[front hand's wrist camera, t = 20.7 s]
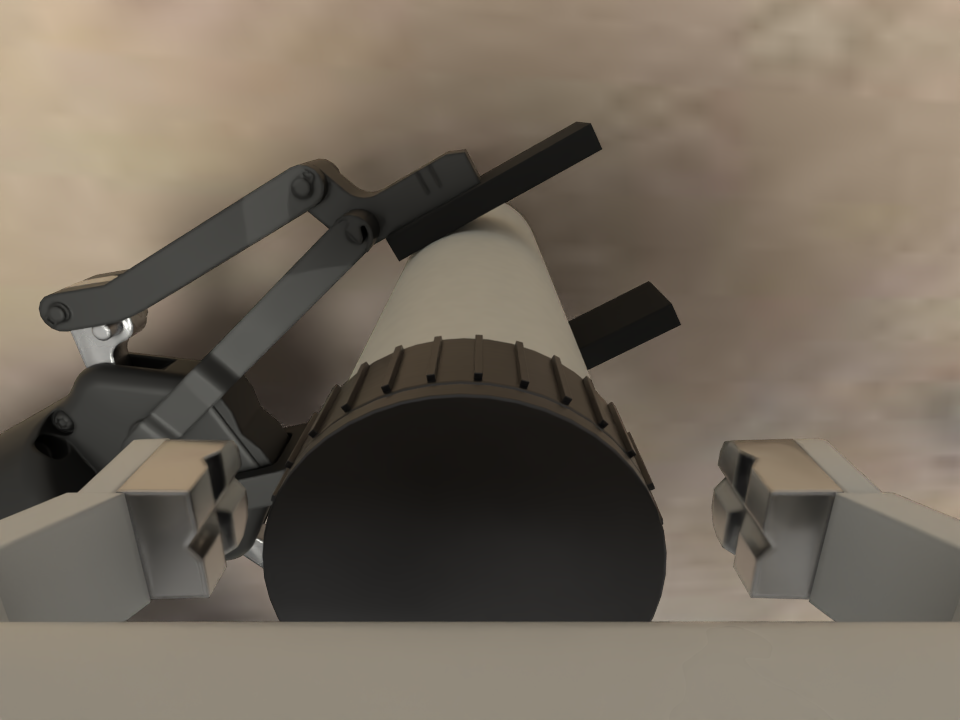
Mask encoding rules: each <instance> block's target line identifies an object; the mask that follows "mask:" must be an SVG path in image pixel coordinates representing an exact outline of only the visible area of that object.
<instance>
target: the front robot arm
mask: <svg viewBox="0 0 960 720" xmlns="http://www.w3.org/2000/svg"><path fill="white" fill-rule="evenodd" d="M241 466H242V462H241V457H240V452H239V447H238V446H237V444H236V443H235V442H234V441H233V440H193V439H171V440H170V439H168V438H164V439H139V440H133V441H132V442H131V443H130V444H129V445H128V446H127V447H126V448H125V449H124V450H123V451H121V452H120V453H119V454H118V455H117V456H116V457H115V458H114V459H113V460H112V461H111V462H110V463H109V464H108V465H106V466H105V467H104V468H103V469H102V470H101V471H100V472H99V473H98V474H97V475H96V476H95V477H94V478H93V479H92V480H90V481H89V482H88V483H87V484H86V485H85V486H84V487H83V488H82V489H81V490H80V491H79V492H78V493H65V494H63V495H60V496H58V497H55V498H53V499H50V500H48V501H46V502H43V503H41V504H38V505H36V506H33V507H31V508H28V509H26V510H23V511H21V512H19V513H16V514H14V515H11V516H9V517H6V518H4V519H1V520H0V720H960V520H958V519H956V518H954V517H951V516H949V515H946V514H944V513H941V512H939V511H936V510H934V509H932V508H929V507H927V506H924V505H922V504H919V503H917V502H914V501H912V500H910V499H907V498H905V497H902V496H900V495H897V494H895V493H882V492H881V491H880V490H879V489H878V488H877V487H876V486H875V485H874V484H873V483H872V482H871V481H870V480H869V479H867V478H866V477H865V476H864V475H863V474H862V473H861V472H860V471H859V470H858V469H857V468H856V467H855V466H854V465H853V464H852V463H850V462H849V461H848V460H847V459H846V458H845V457H844V456H843V455H842V454H841V453H840V452H839V451H838V450H837V449H836V448H834V447H833V446H832V445H831V444H830V443H829V442H828V441H826V440H823V439H820V438H814V439H770V440H731V441H726V442H724V444H723V446H722V448H721V451H720V456H719V461H718V466H719V468H720V469H721V471H722V472H723V474H724V475H725V478H724V479H723V480H722V481H721V482H720V483H719V484H718V485H717V486H716V487H715V488H714V492H713V500H712V517H713V526H714V529H715V532H716V535H717V538H718V540H719V541H720V543H721V545H722V547H723V548H725V549H726V550H728V551H729V552H731V553H733V554H734V555H735V560H734V566H733V567H734V569H735V571H736V572H737V574H738V576H739V578H740V579H741V581H742V583H743V585H744V586H745V588H746V590H747V592H748V593H749V595H750V597H751V598H782V599H810V600H809V602H810V603H811V604H813V605H814V606H815V607H817V608H818V609H819V610H821V611H822V612H823V613H825V614H826V615H827V616H829V617H830V618H831V619H833V620H834V621H835V622H125V621H126V620H128V619H129V618H130V617H132V616H133V615H134V614H136V613H137V612H138V611H140V610H141V609H142V608H144V607H145V606H146V605H148V604H149V603H150V602H151V600H150V599H177V598H209V597H210V595H211V594H212V592H213V590H214V588H215V587H216V585H217V583H218V581H219V579H220V578H221V576H222V574H223V572H224V571H225V569H226V567H227V566H226V560H225V555H226V554H227V553H229V552H231V551H232V550H234V549H235V548H237V547H238V545H239V543H240V541H241V540H242V538H243V536H244V533H245V528H246V524H247V519H248V499H247V492H246V488H245V487H244V486H243V485H242V484H241V483H240V482H239V481H238V480H237V479H236V478H235V475H236V474H237V472H238V471H239V469H240V468H241Z"/></svg>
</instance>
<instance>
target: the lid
mask: <svg viewBox="0 0 960 720" xmlns="http://www.w3.org/2000/svg"><path fill="white" fill-rule="evenodd" d="M285 467H287V469H286V471H285V473H284V474H283V476H282V478H281V480H280V482H279V484H278V485H277V487H276V489H275V491H274V493H273V494H272V498H271V501H273V504H272V506H271V508H270V511H269V514H268V518H267V522H266V526H265V531H264V537H263V551H262V559H263V569H264V579H265V582H266V586H267V590H268V594H269V598H270V601H271V603H272V605H273V608H274V610H275V612H276V615H277V617H278V619H279V621H280V622H651V620H652V618H653V617H654V614H655V612H656V609H657V606H658V603H659V601H660V598H661V595H662V590H663V585H664V580H665V575H666V554H667V552H666V544H665V536H664V530H663V526H662V525H663V518H662V516H661V514H660V511H659V509H658V507H657V505H656V502H655V500H654V498H653V495H652V493H651V491H650V490H653V489H655V487H654V485H653V482H652V480H651V478H650V476H649V474H648V471H647V469H646V467H645V465H644V462H643V460H642V458H641V456H640V454H639V451H638V449H637V447H636V445H635V443H634V440H633V438H632V436H631V434H630V432H628V433H627V432H626V429H625V427H624V425H623V422H622V420H621V418H620V416H619V413H618V411H617V409H616V407H615V405H614V404H613V403H612V402H611V403H609V404H607V403H606V401H605V400H604V399H603V398H602V397H601V396H600V395H599V394H598V393H597V392H596V391H595V388H594V386H593V383H592V381H591V379H590V378H589V377H588V376H585V377H584V378H583V379H582V378H581V377H580V376H579V375H577V374H576V373H575V372H574V371H572V370H570V369H569V368H567V367H566V366H564V365H562V363H561V360H560V358H559V357H557V356H556V355H553V357H552V358H550V357H547V356H545V355H543V354H541V353H539V352H536V351H534V350H531V349H528V348H524V346H523V342H520V341H516V343H515V344H511V343H506V342H500V341H494V340H489V339H483V335H475V339H471V338H459V339H445V340H442V336H436V337H434V341H432V342H427V343H422V344H417V345H414V346H411V347H408V348H405V349H404V348H403V346H402V345H400V346H397V347H395V350H394V352H393V353H391V354H389V355H387V356H385V357H383V358H381V359H379V360H377V361H375V362H373V363H372V364H370V365H369V364H368V363H367V362H364V363H363V364H361V366H360V368H359V370H358V372H357V374H355V375H354V376H353V377H352V378H351V379H349V380H348V381H347V382H346V383H345V384H344V385H343V386H342V387H339V386H338V385H335V387H334V388H333V389H332V390H331V392H330V394H329V396H328V398H327V400H326V402H325V403H324V405H323V407H322V409H321V411H320V413H319V414H317V413H315V412H314V414H313V415H312V417H311V419H310V421H309V423H308V424H307V426H306V428H305V430H304V431H303V433H302V435H301V437H300V439H299V440H298V442H297V444H296V446H295V448H294V449H293V451H292V453H291V455H290V457H289V458H288V460H287V462H286V464H285Z"/></svg>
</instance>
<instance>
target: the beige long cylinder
mask: <svg viewBox="0 0 960 720" xmlns="http://www.w3.org/2000/svg"><path fill="white" fill-rule="evenodd" d="M475 335H483V339H489V340H494V341H500V342H506V343H511V344H515V343H516V341H520V342H523V346H524V348H528V349H531V350H534V351H536V352H539V353H541V354H543V355H545V356H547V357H550V358H552V357H553V355H556V356H557V357H559V358H560V360H561V363H562V365H564V366H566V367H567V368H569V369H570V370H572V371H574V372H575V373H576V374H577V375H579V376H580V377H581V378H582V379H583V378H584V377H585V376H588V377H589V378H590V375H589V373H588V370H587V368H586V365H585V363H584V360H583V358H582V355H581V353H580V350H579V348H578V345H577V343H576V340H575V338H574V335H573V333H572V330H571V328H570V325H569V323H568V320H567V318H566V315H565V313H564V310H563V308H562V305H561V303H560V300H559V298H558V295H557V293H556V290H555V287H554V285H553V282H552V280H551V277H550V275H549V272H548V270H547V267H546V265H545V262H544V260H543V257H542V255H541V252H540V250H539V247H538V245H537V242H536V240H535V237H534V235H533V233H532V230H531V228H530V226H529V225H528V223H527V222H526V220H525V219H524V218H523V217H522V216H521V214H519V213H518V212H517V211H516V210H515V209H514V208H512V207H511V206H509V205H508V204H506V203H504V204H502V205H500V206H498V207H497V208H495V209H493V210H491V211H489V212H488V213H486V214H484V215H482V216H480V217H478V218H477V219H475V220H473V221H471V222H469V223H468V224H466V225H464V226H462V227H460V228H459V229H457V230H455V231H453V232H451V233H450V234H448V235H446V236H444V237H442V238H440V239H439V240H437V241H435V242H433V243H431V244H430V245H428V246H426V247H424V248H422V249H421V250H419V251H417V252H415V253H413V254H411V256H410V258H409V260H408V262H407V264H406V266H405V268H404V270H403V272H402V274H401V276H400V278H399V280H398V282H397V284H396V286H395V288H394V290H393V292H392V294H391V296H390V298H389V300H388V302H387V304H386V306H385V308H384V310H383V312H382V314H381V316H380V318H379V320H378V322H377V324H376V326H375V328H374V330H373V332H372V334H371V336H370V338H369V340H368V342H367V344H366V346H365V348H364V350H363V352H362V354H361V356H360V358H359V360H358V362H357V364H356V366H355V368H354V370H353V372H352V374H351V376H350V378H349V379H351V378H352V377H353V376H354V375H355V374H357V372H358V370H359V368H360V366H361V364H363V363H364V362H367V363H368V364H369V365H370V364H372V363H373V362H375V361H377V360H379V359H381V358H383V357H385V356H387V355H389V354H391V353H393V352H394V350H395V347H397V346H400V345H402V346H403V348H404V349H405V348H408V347H411V346H414V345H417V344H422V343H427V342H432V341H434V337H436V336H442V340H445V339H459V338H471V339H475ZM590 379H591V378H590ZM591 381H592V380H591Z"/></svg>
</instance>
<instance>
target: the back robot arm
mask: <svg viewBox="0 0 960 720" xmlns="http://www.w3.org/2000/svg"><path fill="white" fill-rule="evenodd" d="M600 150H602V147H601V145H600V143H599V141H598V139H597V136H596V134H595V132H594V130H593V127H592V125H591V123H582V122H575V123H574V124H572V125H570V126H568V127H567V128H565V129H563V130H561V131H559V132H558V133H556V134H554V135H552V136H551V137H549V138H547V139H545V140H544V141H542V142H540V143H538V144H536V145H535V146H533V147H531V148H529V149H528V150H526V151H524V152H522V153H521V154H519V155H517V156H515V157H513V158H512V159H510V160H508V161H506V162H505V163H503V164H501V165H499V166H498V167H496V168H494V169H492V170H490V171H489V172H487V173H485V174H483V175H482V176H480V175H479V173H478V171H477V169H476V168H475V166H474V164H473V162H472V160H471V158H470V156H469V154H468V152H467V150H466V149H464V150H456V151H448V152H447V153H445V154H443V155H442V156H440V157H438V158H436V159H435V160H433V161H431V162H429V163H428V164H426V165H424V166H423V167H421V168H419V169H417V170H416V171H414V172H412V173H410V174H409V175H407V176H405V177H404V178H402V179H400V180H398V181H397V182H395V183H393V184H391V185H390V186H388V187H386V188H385V189H382V190H380V191H377V192H367V191H363V190H361V189H359V188H357V187H356V186H354V185H353V184H352V183H351V182H350V181H349V180H347V179H346V178H345V177H344V176H343V175H342V174H340V172H339V169H338V168H337V167H336V166H335V165H334V164H333V163H332V162H330V161H328V160H326V159H317V160H313V161H310V162H306V163H303V164H300V165H296V166H294V167H291V168H289V169H287V170H286V171H284V172H283V173H281V174H280V175H278V176H276V177H275V178H273V179H272V180H270V181H268V182H267V183H265V184H264V185H262V186H260V187H259V188H257V189H256V190H254V191H253V192H251V193H249V194H248V195H246V196H245V197H243V198H241V199H240V200H238V201H237V202H235V203H234V204H232V205H230V206H229V207H227V208H226V209H224V210H222V211H221V212H219V213H218V214H216V215H214V216H213V217H211V218H210V219H208V220H207V221H205V222H203V223H202V224H200V225H199V226H197V227H195V228H194V229H192V230H191V231H189V232H188V233H186V234H184V235H183V236H181V237H180V238H178V239H176V240H175V241H173V242H172V243H170V244H168V245H167V246H165V247H164V248H162V249H161V250H159V251H157V252H156V253H154V254H153V255H151V256H149V257H148V258H146V259H145V260H143V261H142V262H140V263H138V264H137V265H135V266H134V267H132V268H130V269H128V270H122V271H116V272H111V273H105V274H99V275H95V276H93V277H90V278H88V279H85V280H83V281H81V282H78V283H75V284H73V285H71V286H68V287H66V288H64V289H61V290H60V291H57V292H55V293H53V294H50V295H48V296H45V297H44V298H43V299H42V301H41V302H40V306H39V311H40V316H41V317H42V319H43V320H44V322H45V323H46V324H47V325H48V326H50V327H51V328H52V329H55V330H58V331H71V333H72V336H73V338H74V340H75V343H76V345H77V347H78V350H79V352H80V354H81V357H82V359H83V361H84V364H85V366H86V369H85V370H84V371H82V372H81V373H80V374H79V376H78V377H77V379H76V381H75V383H74V385H73V388H72V390H71V392H70V394H69V395H68V396H66V397H64V398H63V399H61V400H59V401H58V402H56V403H54V404H52V405H51V406H49V407H47V408H45V409H44V410H42V411H40V412H38V413H37V414H35V415H33V416H31V417H30V418H28V419H26V420H24V421H23V422H21V423H19V424H17V425H16V426H14V427H12V428H10V429H9V430H7V431H5V432H3V433H2V434H0V520H1V519H4V518H6V517H9V516H11V515H14V514H16V513H19V512H21V511H23V510H26V509H28V508H31V507H33V506H36V505H38V504H41V503H43V502H46V501H48V500H50V499H53V498H55V497H58V496H60V495H63V494H65V493H78V492H79V491H80V490H81V489H82V488H83V487H84V486H85V485H86V484H87V483H88V482H89V481H90V480H92V479H93V478H94V477H95V476H96V475H97V474H98V473H99V472H100V471H101V470H102V469H103V468H104V467H105V466H106V465H108V464H109V463H110V462H111V461H112V460H113V459H114V458H115V457H116V456H117V455H118V454H119V453H120V452H121V451H123V450H124V449H125V448H126V447H127V446H128V445H129V444H130V443H131V442H132V441H133V440H139V439H164V438H168V439H170V440H171V439H193V440H233V441H234V442H235V443H236V444H237V446H238V447H239V452H240V457H241V462H242V466H241V468H240V469H239V471H238V472H237V474H236V475H235V478H236V479H237V480H238V481H239V482H240V483H241V484H242V485H243V486H244V487H245V488H246V492H247V499H248V519H247V524H246V528H245V533H244V536H243V538H242V540H241V541H240V543H239V545H238V547H237V548H235V549H234V550H232V551H231V552H229V553H227V554H226V555H225V560H232V559H236V558H238V557H241V556H242V555H244V556H245V557H247V558H248V559H250V560H251V561H253V562H254V563H256V564H257V565H259V566H260V567H262V568H263V559H262V551H263V537H264V531H265V526H266V524H265V521H266V519H267V516H268V514H269V511H270V508H271V506H272V504H273V501H271V498H272V494H273V493H274V491H275V489H276V487H277V485H278V484H279V482H280V480H281V478H282V476H283V474H284V473H285V471H286V469H287V467H285V464H286V462H287V460H288V458H289V457H290V455H291V453H292V451H293V449H294V448H295V446H296V444H297V442H298V440H299V439H300V437H301V435H302V433H303V431H304V430H305V428H306V426H307V424H308V423H305V424H300V425H296V426H291V427H287V428H283V427H282V426H281V425H280V423H279V422H278V421H277V420H276V419H274V418H273V417H272V416H271V415H270V414H268V413H267V412H266V411H265V410H264V409H262V407H261V406H260V404H259V401H258V399H257V396H256V394H255V392H254V389H253V387H252V386H251V384H250V383H249V382H248V380H247V379H246V378H245V376H244V374H245V373H246V372H247V371H248V370H249V369H250V368H251V367H252V366H253V365H254V364H255V363H256V362H257V361H258V360H259V359H260V358H261V357H262V356H263V355H264V354H265V353H266V352H267V351H268V350H269V349H270V348H271V347H272V346H273V345H274V344H275V343H276V342H277V341H278V340H279V339H280V338H281V337H282V336H283V335H284V334H285V333H286V332H287V331H288V330H289V329H290V328H291V327H292V326H293V325H294V324H295V323H296V322H297V321H298V320H299V319H300V318H301V317H302V316H303V315H304V314H305V313H306V312H307V311H308V310H309V309H310V308H311V307H312V306H313V305H314V304H315V303H316V302H317V301H318V300H319V299H320V298H321V297H322V296H323V295H324V294H325V293H326V292H327V291H328V290H329V289H330V288H331V287H332V286H333V285H334V284H335V283H336V282H337V281H338V280H339V279H340V278H341V277H342V276H343V275H344V274H345V273H346V272H347V271H348V270H349V269H350V268H351V267H352V266H353V265H354V264H355V263H356V262H357V261H358V260H359V259H360V258H361V257H362V256H363V255H364V254H365V253H366V252H368V251H369V250H370V248H371V247H372V246H373V245H374V244H376V243H378V242H379V241H381V240H383V239H385V238H386V237H387V238H386V240H387V242H388V243H389V245H390V247H391V248H392V250H393V252H394V253H395V255H396V257H397V258H398V260H399V261H401V260H402V259H404V258H406V257H408V256H410V255H411V254H413V253H415V252H417V251H419V250H421V249H422V248H424V247H426V246H428V245H430V244H431V243H433V242H435V241H437V240H439V239H440V238H442V237H444V236H446V235H448V234H450V233H451V232H453V231H455V230H457V229H459V228H460V227H462V226H464V225H466V224H468V223H469V222H471V221H473V220H475V219H477V218H478V217H480V216H482V215H484V214H486V213H488V212H489V211H491V210H493V209H495V208H497V207H498V206H500V205H502V204H504V203H506V202H507V201H509V200H511V199H513V198H515V197H516V196H518V195H520V194H522V193H524V192H526V191H527V190H529V189H531V188H533V187H535V186H536V185H538V184H540V183H542V182H544V181H545V180H547V179H549V178H551V177H553V176H555V175H556V174H558V173H560V172H562V171H564V170H565V169H567V168H569V167H571V166H573V165H574V164H576V163H578V162H580V161H582V160H583V159H585V158H587V157H589V156H591V155H593V154H594V153H596V152H598V151H600ZM307 211H308V212H309V213H311V214H312V215H313V216H314V217H315V218H317V219H318V220H319V221H320V222H322V223H323V224H324V225H325V226H326V227H328V228H329V230H328V231H327V232H326V233H325V234H324V235H323V236H322V237H321V238H320V239H319V240H318V241H317V242H316V243H315V244H314V245H313V246H312V247H311V248H310V249H309V250H308V251H307V252H306V253H305V254H304V256H303V257H302V258H301V259H300V260H299V261H298V262H297V263H296V264H295V265H294V266H293V267H292V268H291V269H290V270H289V271H288V272H287V273H286V274H285V275H284V276H283V277H282V278H281V279H280V280H279V281H278V282H277V283H276V284H275V285H274V287H273V288H272V289H271V290H270V291H269V292H268V293H267V294H266V295H265V296H264V297H263V298H262V299H261V300H260V301H259V302H258V303H257V304H256V305H255V306H254V307H253V308H252V309H251V310H250V311H249V312H248V313H247V314H246V315H245V317H244V318H243V319H242V320H241V321H240V322H239V323H238V324H237V325H236V326H235V327H234V328H233V329H232V330H231V331H230V332H229V333H228V334H227V335H226V336H225V337H224V338H223V339H222V340H221V341H220V342H219V343H218V344H217V345H216V347H215V348H214V349H213V350H212V351H211V352H210V353H209V354H208V355H207V356H206V357H205V358H204V359H203V360H201V361H200V360H191V359H183V358H174V357H166V356H157V355H149V354H140V353H132V352H128V348H127V344H128V340H129V338H130V337H132V336H134V335H135V334H137V333H138V332H140V331H141V330H142V329H143V328H144V327H145V325H146V322H147V317H146V316H147V314H148V309H147V308H149V307H151V306H152V305H154V304H156V303H157V302H159V301H161V300H163V299H164V298H166V297H168V296H169V295H171V294H173V293H174V292H176V291H178V290H179V289H181V288H183V287H184V286H186V285H188V284H189V283H191V282H192V281H194V280H196V279H197V278H199V277H201V276H202V275H204V274H206V273H207V272H209V271H210V270H212V269H214V268H215V267H217V266H219V265H220V264H222V263H224V262H225V261H227V260H228V259H230V258H232V257H233V256H235V255H237V254H238V253H240V252H242V251H243V250H245V249H246V248H248V247H250V246H251V245H253V244H255V243H256V242H258V241H260V240H261V239H263V238H264V237H266V236H268V235H269V234H271V233H273V232H274V231H276V230H278V229H279V228H281V227H282V226H284V225H286V224H287V223H289V222H291V221H292V220H294V219H296V218H297V217H299V216H300V215H302V214H304V213H305V212H307ZM568 323H569V325H570V328H571V330H572V333H573V335H574V338H575V340H576V343H577V345H578V348H579V350H580V353H581V355H582V358H583V360H584V363H585V365H586V368H587V370H589V369H591V368H593V367H595V366H597V365H599V364H601V363H603V362H605V361H607V360H609V359H611V358H613V357H615V356H618V355H620V354H622V353H624V352H626V351H628V350H630V349H632V348H634V347H636V346H638V345H640V344H642V343H644V342H646V341H648V340H651V339H653V338H655V337H657V336H659V335H661V334H663V333H665V332H667V331H669V330H671V329H673V328H675V327H677V326H679V325H681V324H680V321H679V319H678V317H677V315H676V312H675V310H674V308H673V306H672V304H671V303H670V302H669V301H668V300H667V299H666V298H665V297H664V296H663V295H662V294H661V293H660V292H659V291H658V290H657V289H656V288H655V287H654V286H653V285H652V284H651V283H650V282H649V281H648V282H646V283H644V284H642V285H640V286H638V287H636V288H634V289H632V290H630V291H628V292H626V293H625V294H623V295H621V296H619V297H617V298H615V299H613V300H611V301H609V302H607V303H605V304H603V305H601V306H599V307H597V308H595V309H593V310H591V311H589V312H587V313H585V314H583V315H581V316H579V317H577V318H575V319H573V320H571V321H569V322H568Z"/></svg>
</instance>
